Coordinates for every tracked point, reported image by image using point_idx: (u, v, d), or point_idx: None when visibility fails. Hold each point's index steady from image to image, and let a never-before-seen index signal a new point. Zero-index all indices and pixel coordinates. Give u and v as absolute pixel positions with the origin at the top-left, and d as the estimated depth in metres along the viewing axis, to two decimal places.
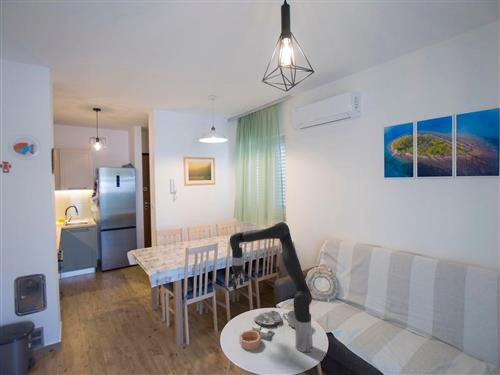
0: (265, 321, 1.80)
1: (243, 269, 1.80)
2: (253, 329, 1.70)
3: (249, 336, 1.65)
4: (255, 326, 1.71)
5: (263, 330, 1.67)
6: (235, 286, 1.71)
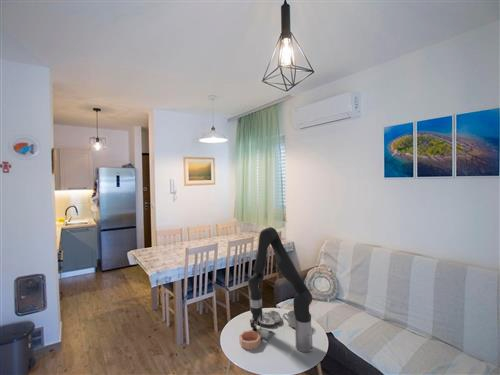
0: (265, 321, 1.80)
1: (261, 311, 1.76)
2: None
3: (249, 336, 1.65)
4: None
5: (263, 330, 1.67)
6: (255, 329, 1.68)
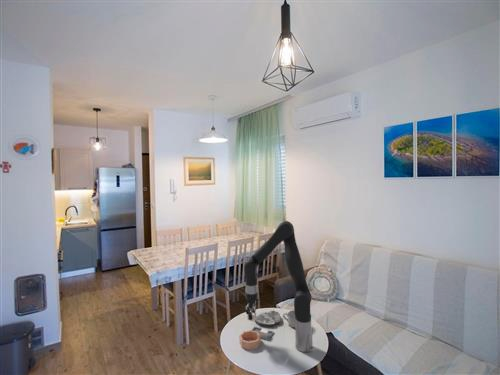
0: (265, 321, 1.80)
1: None
2: (248, 316, 1.63)
3: (249, 336, 1.65)
4: None
5: (263, 330, 1.67)
6: (251, 316, 1.62)
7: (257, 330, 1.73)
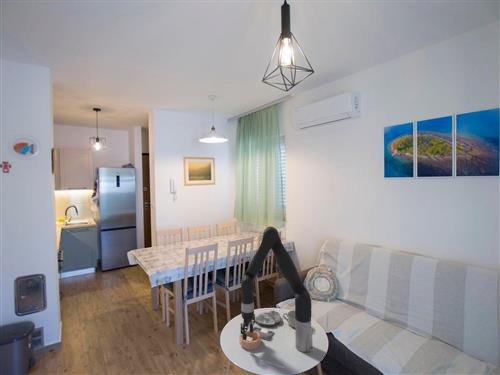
0: (265, 321, 1.80)
1: (253, 314, 1.62)
2: None
3: (249, 336, 1.65)
4: (247, 338, 1.58)
5: (263, 330, 1.67)
6: (245, 336, 1.53)
7: (257, 330, 1.73)
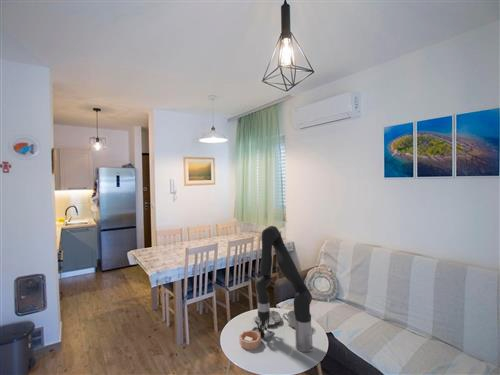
0: None
1: (268, 315, 1.70)
2: None
3: (249, 336, 1.65)
4: (247, 338, 1.58)
5: None
6: (263, 334, 1.63)
7: (257, 330, 1.73)
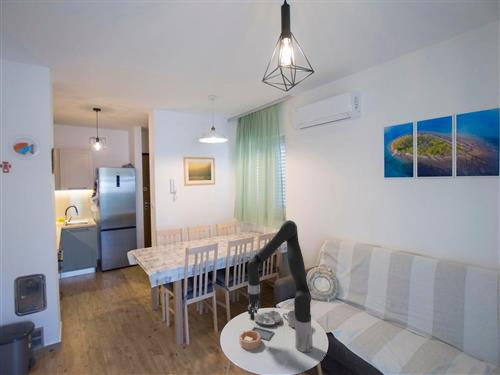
0: (265, 321, 1.80)
1: (259, 298, 1.67)
2: None
3: (249, 336, 1.65)
4: (247, 338, 1.58)
5: None
6: (253, 316, 1.61)
7: (257, 330, 1.73)
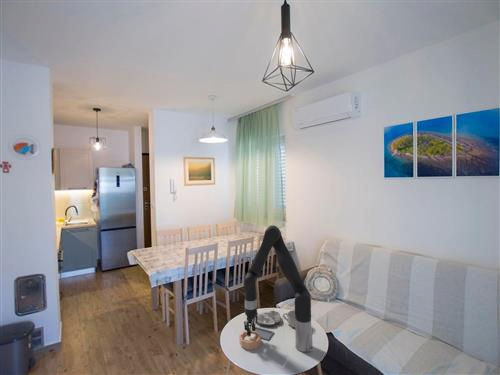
0: (265, 321, 1.80)
1: (256, 312, 1.66)
2: None
3: None
4: (247, 338, 1.58)
5: None
6: (249, 332, 1.58)
7: (257, 330, 1.73)
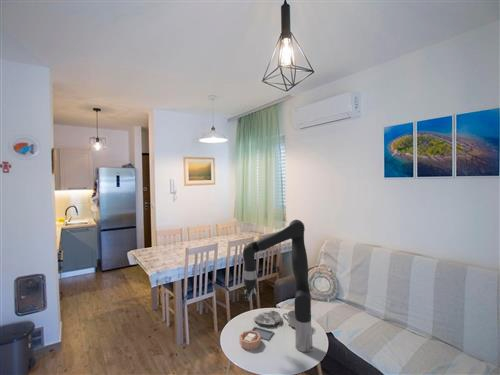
0: (265, 321, 1.80)
1: None
2: None
3: None
4: (247, 338, 1.58)
5: (250, 334, 1.62)
6: (248, 302, 1.56)
7: (257, 330, 1.73)
